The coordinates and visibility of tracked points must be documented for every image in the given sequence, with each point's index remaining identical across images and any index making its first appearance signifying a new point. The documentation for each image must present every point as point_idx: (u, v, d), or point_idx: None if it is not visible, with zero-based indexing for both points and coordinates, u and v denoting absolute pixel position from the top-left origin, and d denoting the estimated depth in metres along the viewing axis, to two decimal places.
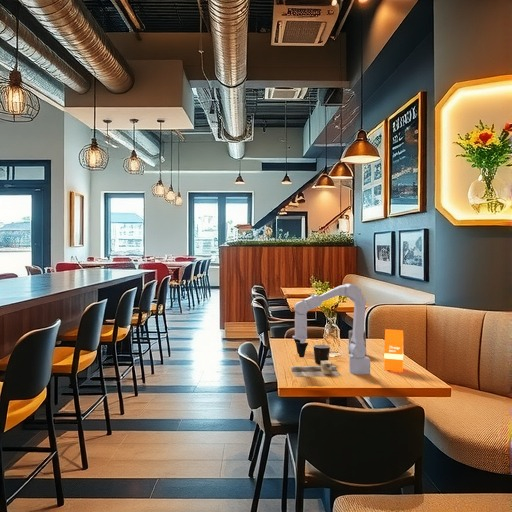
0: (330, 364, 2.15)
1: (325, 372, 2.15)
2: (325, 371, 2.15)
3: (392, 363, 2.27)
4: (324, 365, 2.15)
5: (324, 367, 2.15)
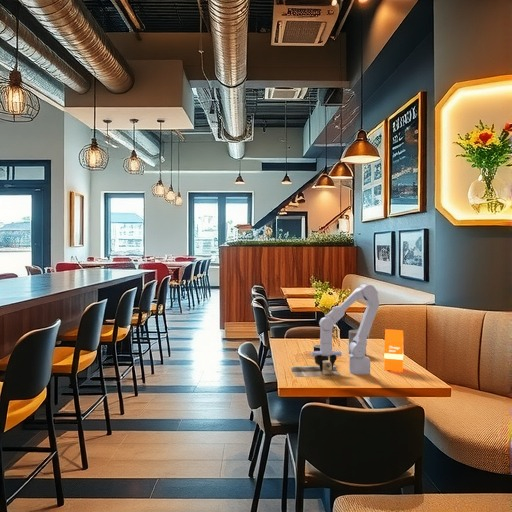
0: (330, 364, 2.15)
1: (325, 372, 2.15)
2: (325, 371, 2.15)
3: (392, 363, 2.27)
4: (324, 365, 2.15)
5: (324, 367, 2.15)
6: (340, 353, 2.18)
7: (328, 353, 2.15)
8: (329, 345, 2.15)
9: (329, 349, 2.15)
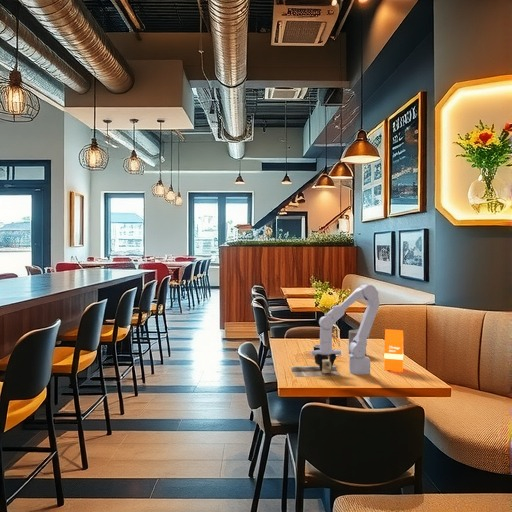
0: (330, 363, 2.15)
1: (324, 371, 2.15)
2: (325, 370, 2.15)
3: (392, 363, 2.27)
4: (324, 364, 2.15)
5: (324, 366, 2.15)
6: (340, 352, 2.18)
7: (328, 352, 2.15)
8: (329, 344, 2.15)
9: (329, 348, 2.15)
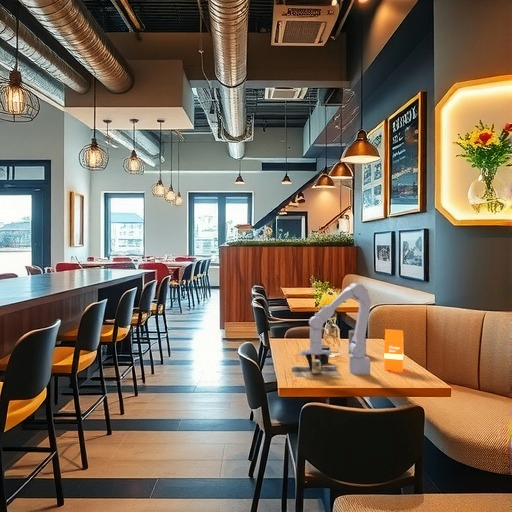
0: (319, 363, 2.15)
1: (314, 371, 2.15)
2: (314, 370, 2.15)
3: (392, 363, 2.27)
4: (313, 364, 2.15)
5: (313, 366, 2.15)
6: (330, 352, 2.17)
7: (317, 352, 2.15)
8: (318, 344, 2.15)
9: (318, 348, 2.15)
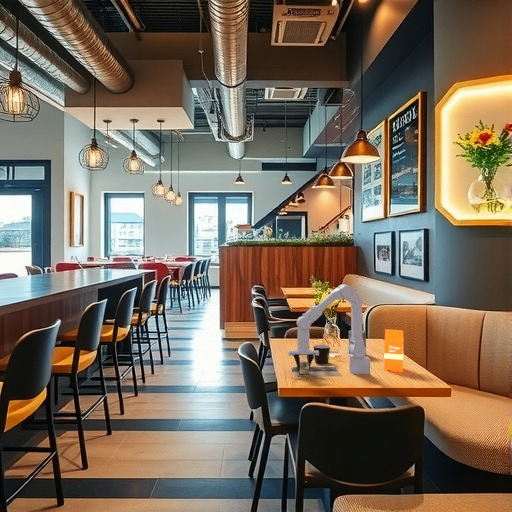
0: (307, 363, 2.14)
1: (302, 371, 2.14)
2: (302, 371, 2.14)
3: (392, 363, 2.27)
4: (301, 364, 2.14)
5: (301, 366, 2.14)
6: (317, 352, 2.17)
7: (305, 352, 2.14)
8: (306, 344, 2.15)
9: (306, 348, 2.15)
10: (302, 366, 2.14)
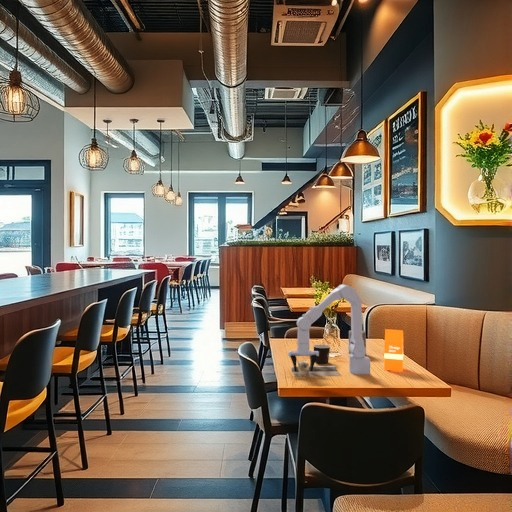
0: (307, 364, 2.14)
1: (302, 372, 2.14)
2: (302, 372, 2.14)
3: (392, 363, 2.27)
4: (301, 365, 2.14)
5: (301, 367, 2.14)
6: (317, 353, 2.17)
7: (305, 353, 2.14)
8: (306, 345, 2.15)
9: (306, 349, 2.15)
10: (302, 367, 2.14)
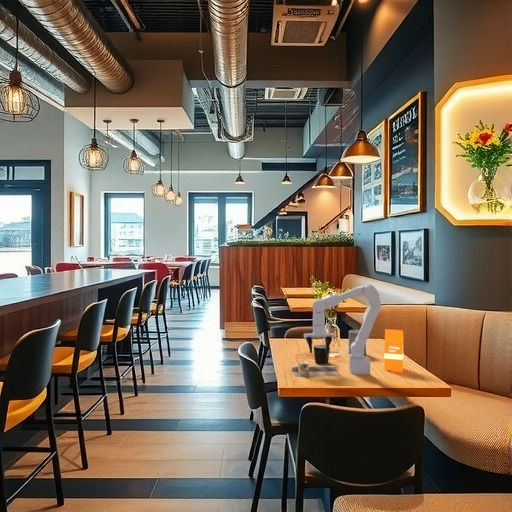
0: (307, 364, 2.14)
1: (302, 372, 2.14)
2: (302, 372, 2.14)
3: (392, 363, 2.27)
4: (301, 365, 2.14)
5: (301, 367, 2.14)
6: (332, 335, 2.21)
7: (321, 335, 2.19)
8: (321, 327, 2.19)
9: (322, 331, 2.19)
10: (302, 367, 2.14)
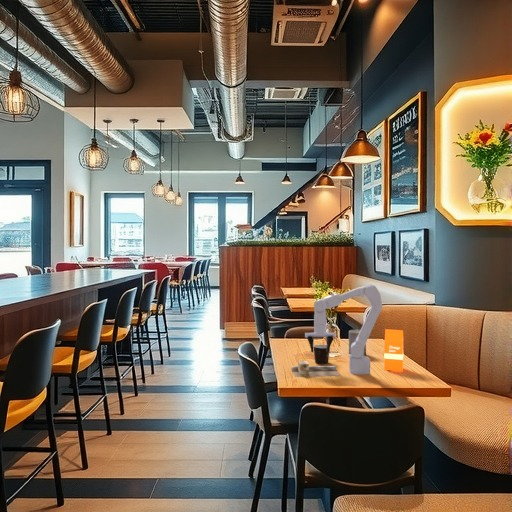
0: (307, 364, 2.14)
1: (302, 372, 2.14)
2: (302, 372, 2.14)
3: (392, 363, 2.27)
4: (301, 365, 2.14)
5: (301, 367, 2.14)
6: (334, 334, 2.22)
7: (322, 334, 2.19)
8: (323, 326, 2.20)
9: (323, 330, 2.20)
10: (302, 367, 2.14)
